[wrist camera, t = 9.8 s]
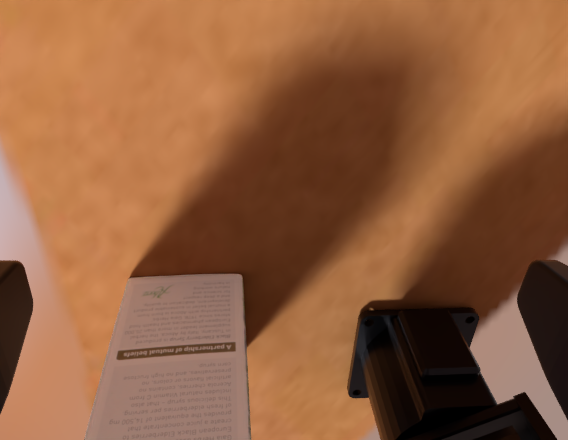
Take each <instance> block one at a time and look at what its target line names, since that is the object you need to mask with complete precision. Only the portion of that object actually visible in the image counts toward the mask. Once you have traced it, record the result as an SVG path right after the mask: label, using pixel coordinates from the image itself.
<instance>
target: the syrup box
mask: <svg viewBox="0 0 568 440" xmlns="http://www.w3.org/2000/svg"><path fill="white" fill-rule="evenodd" d="M84 440H251V427H250V407H249V387H248V365H247V345H246V326H245V307H244V288H243V277H242V275H240V274H196V275H173V276H154V277H136V278H133V277H132V278H129V279H128V281H127V284H126V288H125V291H124V295H123V299H122V302H121V305H120V309H119V313H118V316H117V319H116V322H115V326H114V330H113V334H112V337H111V341H110V344H109V348H108V352H107V356H106V359H105V363H104V367H103V370H102V374H101V378H100V382H99V386H98V389H97V393H96V397H95V401H94V404H93V408H92V412H91V416H90V419H89V423H88V427H87V431H86V435H85V439H84Z"/></svg>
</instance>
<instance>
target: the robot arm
mask: <svg viewBox="0 0 568 440" xmlns="http://www.w3.org/2000/svg"><path fill="white" fill-rule="evenodd" d="M517 303H518V307H519V310H520V313H521V315H522V318H523V321H524V323H525V326H526V328H527V331H528V333H529V336H530V338H531V341H532V343H533V346H534V349H535V351H536V354H537V356H538V359H539V361H540V363H541V366H542V369H543V371H544V373H545V376H546V378H547V380H548V382H549V385H550V387H551V389H552V391H553V393H554V394H555V397H556V398H557V400H558V402H559V404H560V406H561V408H562V410H563V412H564V414H565V415H566V418H567V420H568V266H567V265H565V264H563V263H561V262H559V261H556V260H536V261H533V262H532V263H531V264H530V265H529V267H528V270H527V272H526V275H525V277H524V280H523V282H522V285H521V288H520V290H519V293H518V297H517ZM32 311H33V298H32V294H31V290H30V287H29V283H28V279H27V275H26V272H25V268H24V266H23V264H22V263H21V262H19V261H0V413H1V411H2V409H3V406H4V403H5V401H6V398H7V396H8V393H9V390H10V387H11V384H12V381H13V377H14V374H15V370H16V367H17V363H18V360H19V357H20V353H21V350H22V346H23V343H24V339H25V335H26V332H27V329H28V325H29V322H30V318H31V315H32ZM468 317H469V318H468ZM369 319H371V320H370V321H366V320H369ZM478 321H479V316H478V314H477V312H476V311H475V309H473V308H443V309H406V310H370V311H364V312H362V313H361V314H360V315H359V318H358V323H357V329H356V336H355V342H354V348H353V354H352V360H351V367H350V373H349V379H348V385H347V390H348V394H349V396H350V397H352V398H369V399H370V403H371V406H372V410H373V414H374V417H375V421H376V425H377V428H378V432H379V435H380V439H381V440H557V438H556V437H555V435H554V434H553V433H552V431H551V430H550V428H549V427H548V425H547V424H546V422H545V421H544V419H543V418H542V416H541V415H540V414H539V412H538V410H537V409H536V407H535V406H534V405H533V403H532V402H531V400H530V399H529V397H528V396H527V394H526V393H525V392H523V393H521V394H518V395H515V396H513V397H514V399H511V400H509V401H506V402H503V403H500V404H497V402H496V401H495V399H494V397H493V395H492V393H491V392H490V389H489V388H488V386H487V384H486V382H485V380H484V378H483V376H482V374H481V372H480V367H479V365H478V363H477V361H476V360H475V358H474V356H473V354H472V352H471V350H470V345H471V342H472V339H473V336H474V333H475V330H476V327H477V324H478Z"/></svg>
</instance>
